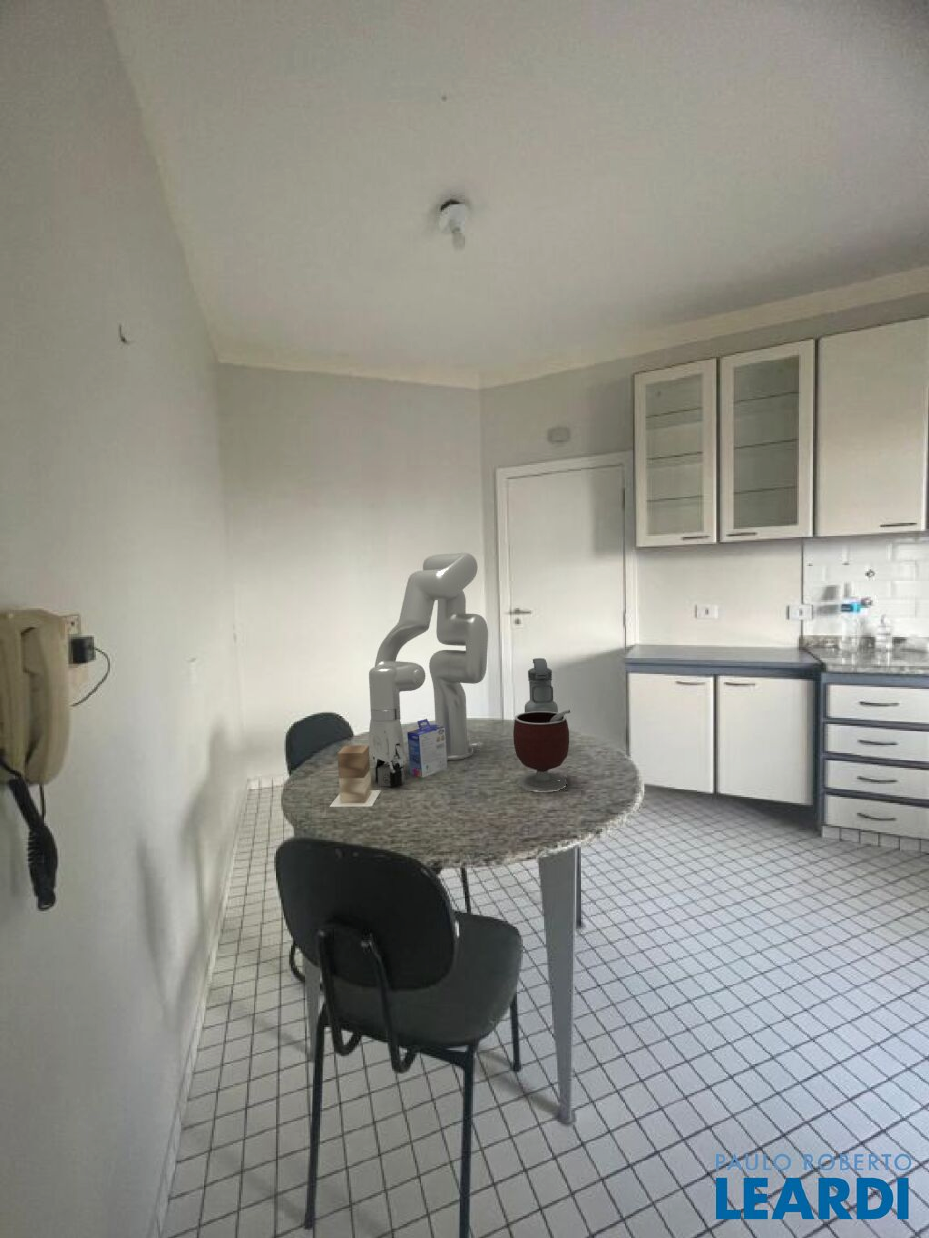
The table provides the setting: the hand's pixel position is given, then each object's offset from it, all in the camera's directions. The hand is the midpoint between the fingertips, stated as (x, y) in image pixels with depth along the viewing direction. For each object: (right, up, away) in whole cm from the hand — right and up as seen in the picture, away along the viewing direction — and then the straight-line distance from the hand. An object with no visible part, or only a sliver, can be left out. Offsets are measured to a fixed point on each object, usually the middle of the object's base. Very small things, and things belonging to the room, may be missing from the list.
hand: (388, 782), depth 143 cm
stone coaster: (-7, -2, -9) cm, 11 cm away
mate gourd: (+40, 0, -4) cm, 40 cm away
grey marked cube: (+1, -1, 0) cm, 1 cm away
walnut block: (-7, +5, -10) cm, 13 cm away
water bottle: (+43, +2, +21) cm, 48 cm away
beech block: (-7, -1, -9) cm, 11 cm away
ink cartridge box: (+10, 0, +9) cm, 13 cm away
